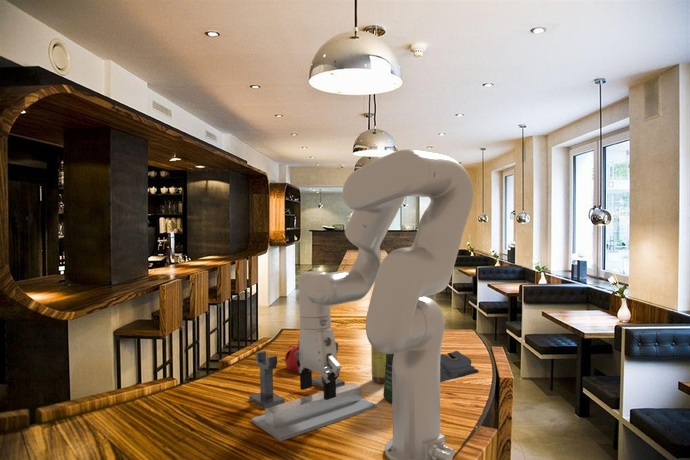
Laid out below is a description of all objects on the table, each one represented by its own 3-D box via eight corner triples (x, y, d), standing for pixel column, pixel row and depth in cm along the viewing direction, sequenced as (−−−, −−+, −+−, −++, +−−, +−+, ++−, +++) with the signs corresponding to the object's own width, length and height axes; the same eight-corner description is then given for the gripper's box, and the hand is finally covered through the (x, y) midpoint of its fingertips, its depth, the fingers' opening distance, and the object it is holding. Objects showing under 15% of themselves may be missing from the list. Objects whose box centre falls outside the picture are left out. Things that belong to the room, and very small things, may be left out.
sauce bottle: (391, 385, 135) (391, 315, 134) (370, 383, 136) (369, 315, 135) (394, 377, 141) (393, 311, 141) (373, 376, 142) (372, 311, 142)
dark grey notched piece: (397, 372, 147) (397, 357, 147) (448, 360, 159) (448, 346, 159) (431, 386, 134) (431, 370, 134) (484, 372, 146) (484, 357, 146)
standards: (344, 385, 135) (344, 342, 134) (264, 409, 118) (263, 359, 118) (327, 378, 141) (327, 337, 140) (249, 400, 124) (248, 353, 124)
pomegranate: (321, 367, 153) (321, 338, 152) (306, 376, 144) (306, 345, 143) (295, 363, 157) (295, 335, 157) (278, 371, 148) (279, 342, 148)
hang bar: (361, 400, 121) (360, 386, 121) (273, 428, 105) (272, 413, 105) (352, 396, 124) (352, 383, 124) (265, 423, 108) (265, 408, 108)
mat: (376, 407, 118) (376, 404, 118) (280, 441, 101) (280, 437, 101) (343, 393, 128) (343, 390, 128) (251, 421, 111) (251, 418, 111)
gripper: (350, 325, 110) (352, 398, 110) (307, 316, 123) (310, 381, 123) (324, 330, 105) (326, 406, 105) (283, 320, 118) (285, 388, 118)
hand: (317, 393), depth 114 cm, fingers open, 9 cm apart
